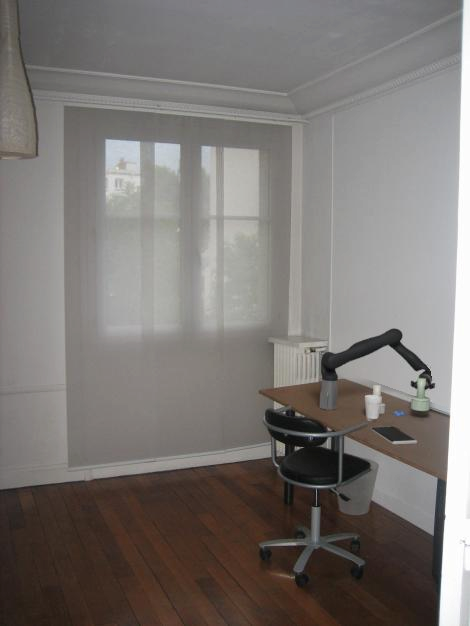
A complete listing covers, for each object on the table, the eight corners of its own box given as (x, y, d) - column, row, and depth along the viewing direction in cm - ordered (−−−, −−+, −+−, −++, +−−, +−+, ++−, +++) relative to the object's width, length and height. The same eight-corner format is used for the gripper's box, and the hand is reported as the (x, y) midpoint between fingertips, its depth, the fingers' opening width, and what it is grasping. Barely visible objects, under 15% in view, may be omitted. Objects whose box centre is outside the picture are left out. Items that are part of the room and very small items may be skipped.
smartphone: (393, 429, 348) (393, 425, 348) (417, 444, 322) (418, 440, 322) (369, 429, 345) (370, 426, 345) (393, 445, 319) (393, 441, 319)
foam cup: (368, 416, 369) (370, 394, 368) (383, 419, 363) (385, 396, 362) (360, 419, 362) (361, 396, 360) (375, 423, 356) (377, 399, 354)
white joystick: (376, 417, 368) (378, 387, 366) (363, 413, 376) (364, 384, 374) (388, 414, 374) (389, 385, 372) (374, 410, 382) (376, 382, 380)
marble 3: (402, 417, 368) (402, 412, 368) (398, 416, 371) (398, 411, 370) (405, 417, 370) (406, 411, 370) (401, 415, 373) (401, 410, 372)
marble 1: (396, 417, 370) (396, 411, 369) (392, 415, 372) (392, 410, 372) (399, 416, 372) (400, 411, 371) (395, 415, 374) (395, 409, 374)
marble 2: (398, 418, 366) (398, 413, 366) (394, 417, 369) (394, 412, 368) (402, 417, 368) (402, 412, 368) (397, 416, 370) (398, 411, 370)
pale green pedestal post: (421, 411, 356) (423, 381, 354) (407, 407, 364) (408, 378, 362) (433, 409, 362) (434, 379, 360) (418, 405, 370) (419, 376, 368)
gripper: (412, 374, 377) (407, 379, 362) (437, 376, 372) (434, 382, 356) (411, 386, 378) (407, 392, 362) (436, 389, 373) (433, 395, 357)
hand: (420, 387), depth 359 cm, fingers closed on pale green pedestal post, 4 cm apart
